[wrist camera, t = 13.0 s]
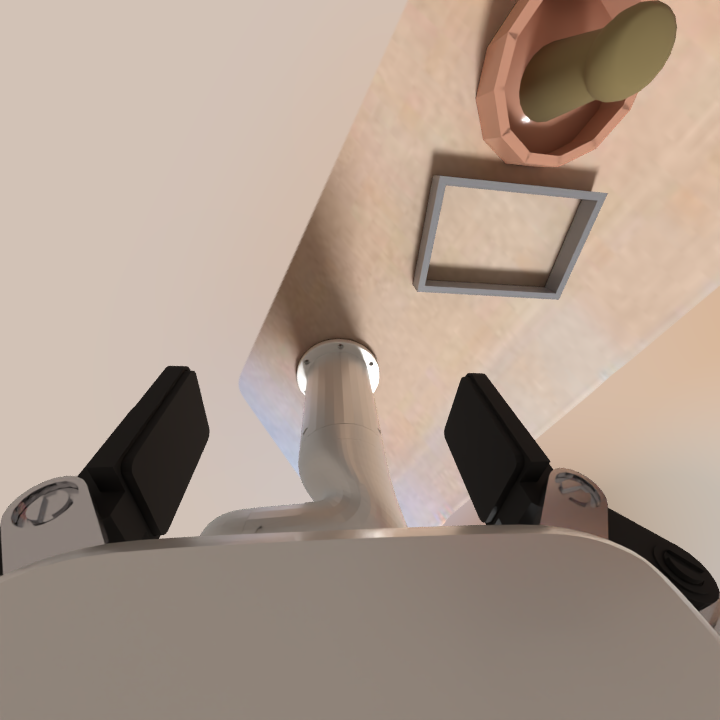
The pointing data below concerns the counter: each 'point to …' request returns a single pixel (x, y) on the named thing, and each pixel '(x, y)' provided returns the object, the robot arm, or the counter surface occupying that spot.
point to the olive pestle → (599, 62)
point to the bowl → (504, 73)
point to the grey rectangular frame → (552, 289)
